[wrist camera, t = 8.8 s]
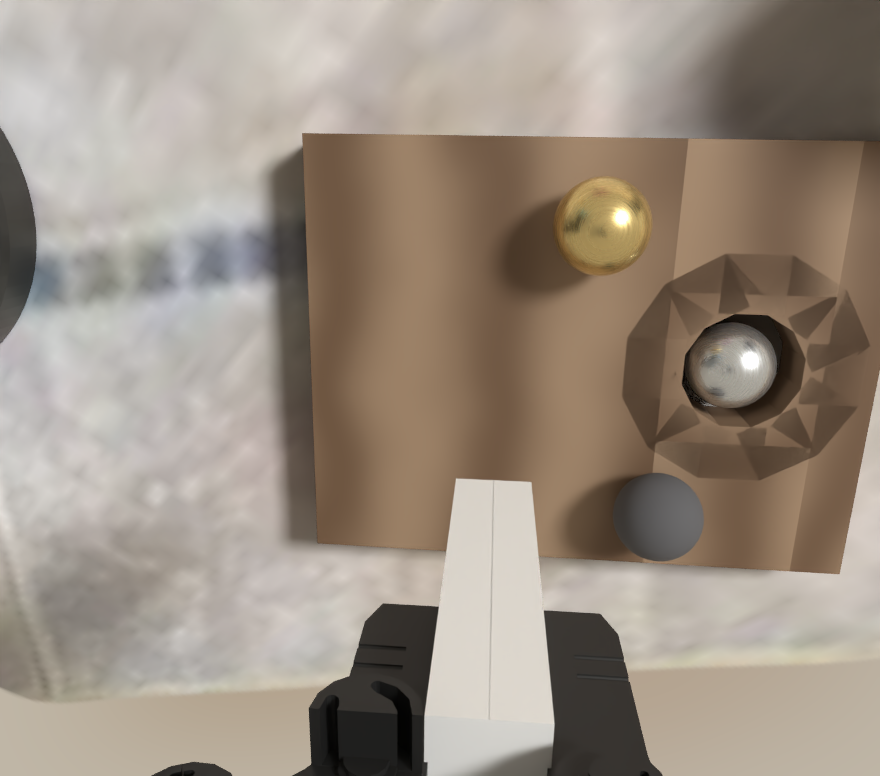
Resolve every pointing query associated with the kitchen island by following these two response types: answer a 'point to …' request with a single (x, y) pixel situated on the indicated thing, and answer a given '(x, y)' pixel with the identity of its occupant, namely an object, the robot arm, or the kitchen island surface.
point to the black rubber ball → (658, 517)
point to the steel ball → (731, 365)
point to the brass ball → (602, 226)
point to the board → (588, 338)
